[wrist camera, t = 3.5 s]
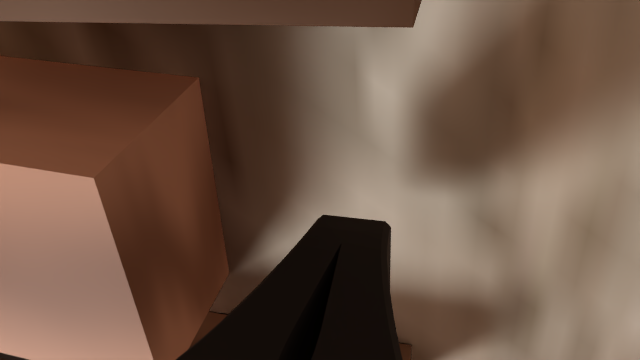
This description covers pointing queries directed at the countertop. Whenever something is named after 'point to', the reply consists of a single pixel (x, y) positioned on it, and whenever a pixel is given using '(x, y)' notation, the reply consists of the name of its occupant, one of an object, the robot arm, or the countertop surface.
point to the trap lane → (226, 9)
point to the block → (104, 213)
